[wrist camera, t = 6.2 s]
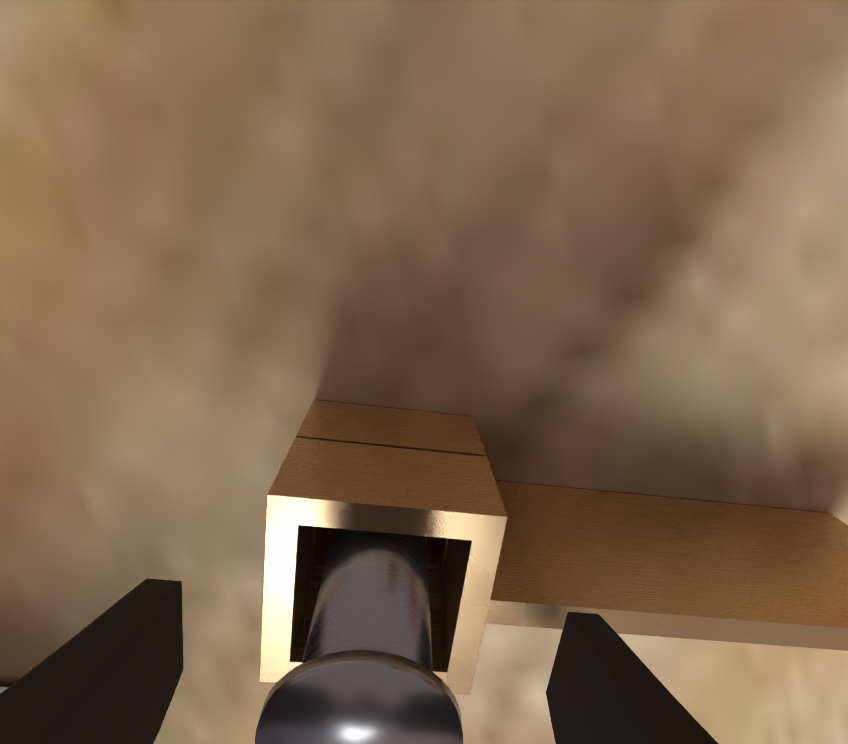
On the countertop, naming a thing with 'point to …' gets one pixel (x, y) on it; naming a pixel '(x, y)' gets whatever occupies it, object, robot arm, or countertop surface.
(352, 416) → the hinge leaves
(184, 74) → the countertop surface
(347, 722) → the hinge pin
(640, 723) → the robot arm
